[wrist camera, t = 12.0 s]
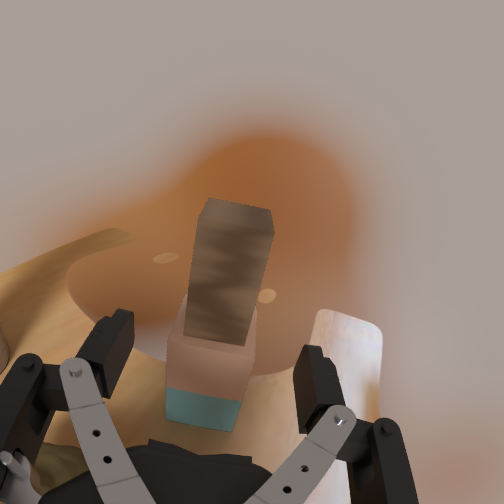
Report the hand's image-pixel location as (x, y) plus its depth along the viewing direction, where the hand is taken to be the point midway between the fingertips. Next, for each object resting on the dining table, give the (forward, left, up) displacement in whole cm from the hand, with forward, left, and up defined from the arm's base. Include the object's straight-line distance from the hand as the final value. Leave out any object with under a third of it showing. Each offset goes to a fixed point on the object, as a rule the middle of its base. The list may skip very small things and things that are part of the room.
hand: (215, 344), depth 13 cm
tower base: (0, +11, -19) cm, 22 cm away
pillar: (0, +11, -7) cm, 13 cm away
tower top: (0, +11, -13) cm, 17 cm away
